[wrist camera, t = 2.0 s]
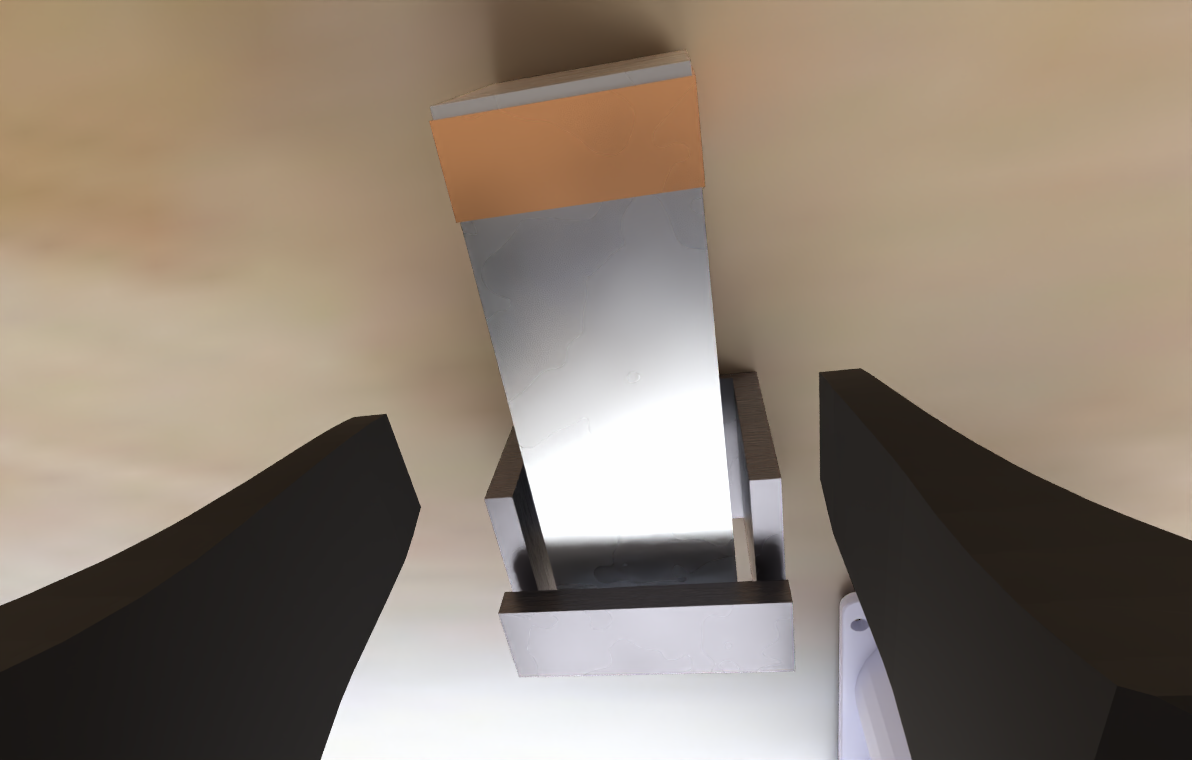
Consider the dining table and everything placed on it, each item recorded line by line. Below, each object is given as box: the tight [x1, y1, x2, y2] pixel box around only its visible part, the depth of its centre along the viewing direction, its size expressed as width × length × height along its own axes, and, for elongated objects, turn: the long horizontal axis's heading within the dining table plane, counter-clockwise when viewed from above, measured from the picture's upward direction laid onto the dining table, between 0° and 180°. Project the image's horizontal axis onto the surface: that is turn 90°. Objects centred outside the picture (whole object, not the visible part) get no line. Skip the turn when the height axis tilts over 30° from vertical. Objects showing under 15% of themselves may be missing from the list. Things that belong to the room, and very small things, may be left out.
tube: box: [429, 49, 737, 590], centre depth 14 cm, size 12×4×4 cm, turn 10°
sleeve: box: [484, 372, 795, 677], centre depth 16 cm, size 4×6×5 cm
